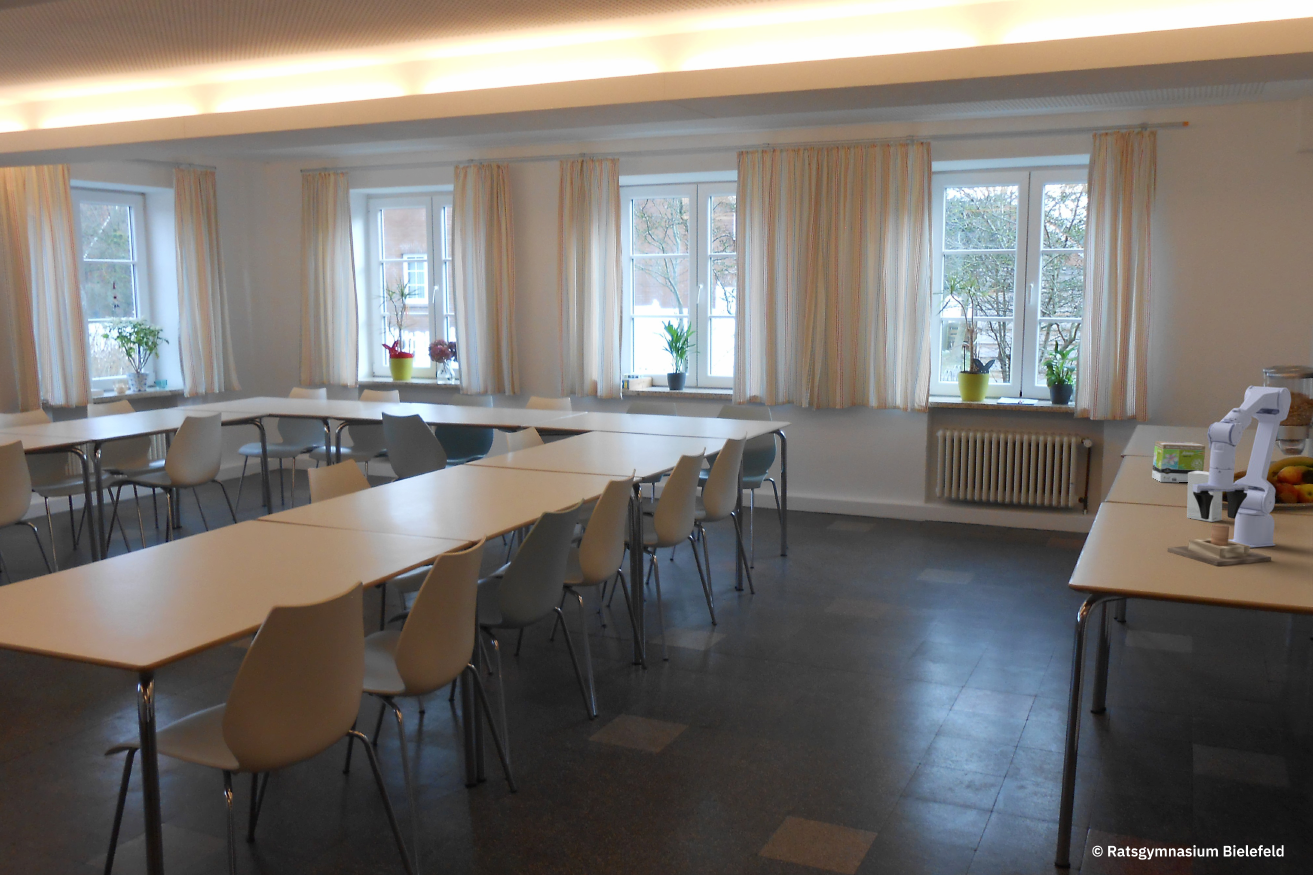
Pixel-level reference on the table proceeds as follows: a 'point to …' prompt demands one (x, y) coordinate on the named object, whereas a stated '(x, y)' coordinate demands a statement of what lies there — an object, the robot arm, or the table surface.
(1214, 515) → the skincare box
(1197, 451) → the tea box
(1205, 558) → the socket
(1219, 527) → the peg
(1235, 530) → the robot arm
